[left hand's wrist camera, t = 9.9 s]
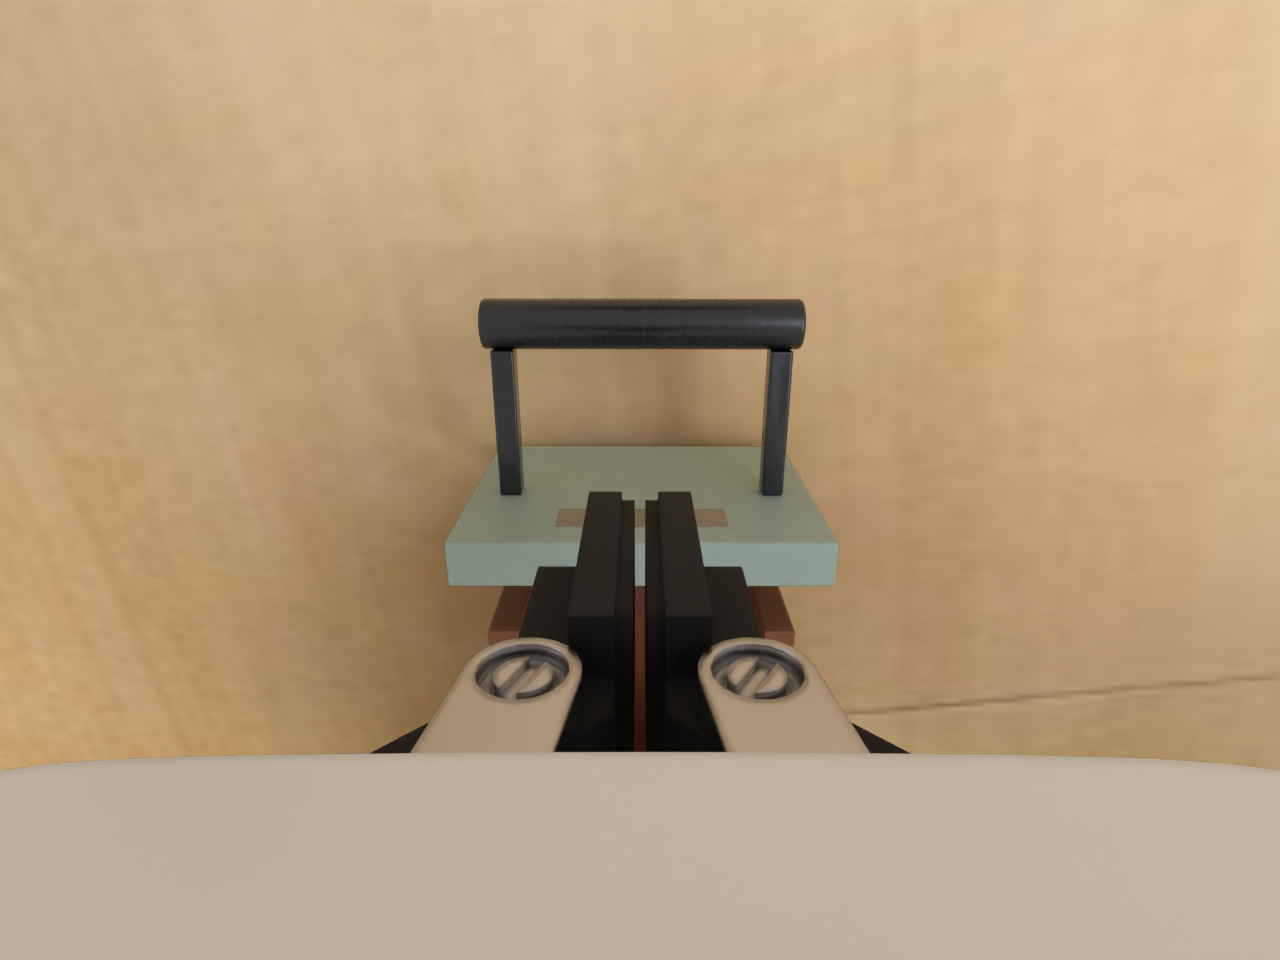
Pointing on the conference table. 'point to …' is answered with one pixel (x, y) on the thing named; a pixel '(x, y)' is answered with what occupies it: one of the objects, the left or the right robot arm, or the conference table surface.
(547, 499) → the drawer
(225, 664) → the conference table surface
